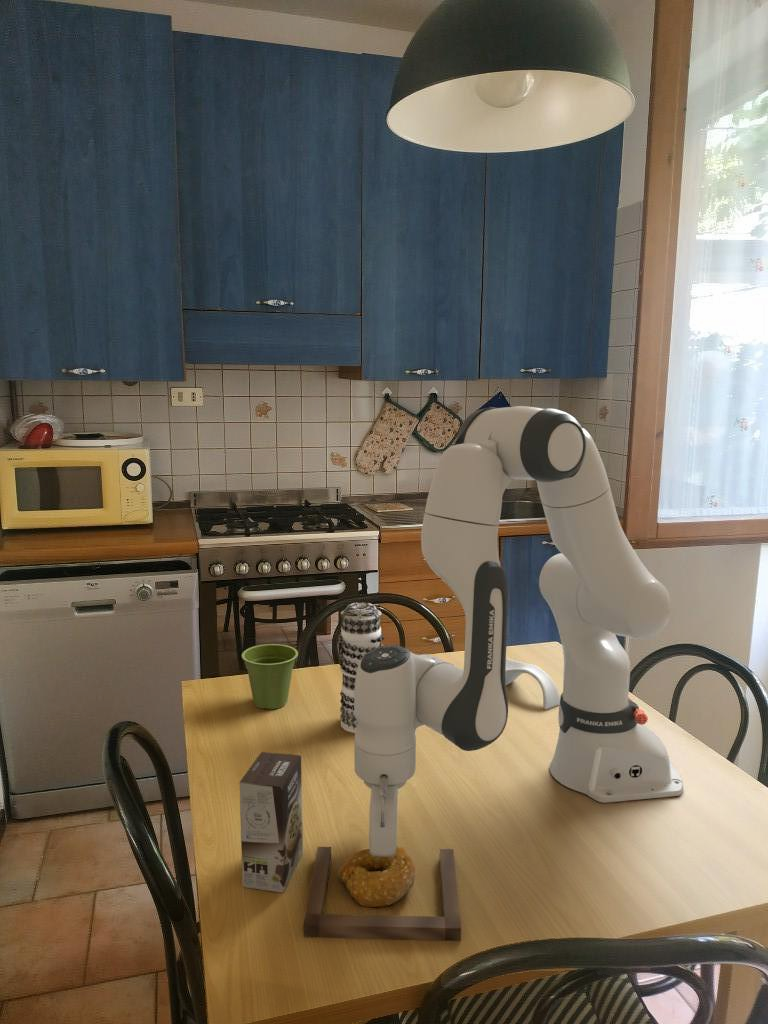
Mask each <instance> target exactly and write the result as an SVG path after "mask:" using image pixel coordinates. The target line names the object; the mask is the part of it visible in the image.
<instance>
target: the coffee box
mask: <svg viewBox="0 0 768 1024" xmlns="http://www.w3.org/2000/svg"><path fill="white" fill-rule="evenodd" d="M302 779H303V778H302V755H301V754H300V755H299V754H294V753H293V754H292V753H282V752H281V753H280V752H278V753H277V752H276V753H275V752H264V751H261V752H260V753H259V755H258V756H257V757H256V758H255V760H254V762H253V763H252V764H251V766H249V769H248V770H247V771H246V772H245V774H244V775H243V777H242V778H241V780H240V781H238V782H239V805H240V806H239V807H240V810H239V811H240V842H241V844H240V845H241V872H242V873H241V874H242V875H241V879H242V881H241V882H242V887H243V888H248V889H256V890H260V891H261V890H262V891H269V892H274V893H279V894H280V893H281V894H282V893H285V891H286V888H287V887H288V885H289V883H290V881H291V878H292V877H293V874H294V873H295V871H296V869H297V866H298V864H299V862H300V861H301V858H302V857H303V854H304V838H303V836H304V835H303V833H304V832H303V831H304V830H303V790H302V788H303V786H302V781H303V780H302Z"/></svg>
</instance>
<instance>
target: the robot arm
mask: <svg viewBox="0 0 768 1024" xmlns="http://www.w3.org/2000/svg"><path fill="white" fill-rule="evenodd" d="M512 480H513V481H517V480H521V481H522V480H523V481H536V484H537V489H538V494H539V499H540V501H541V502H540V503H541V505H542V508H543V509H542V510H543V512H544V513H543V514H544V516H545V519H546V523H547V526H548V530H549V534H550V538H551V540H552V542H553V544H554V546H555V548H556V549H557V550H558V551H559V552H560V553H557V554H555V555H553V556H551V557H550V558H549V559H548V560H547V561H546V562H545V563H544V565H543V567H542V568H541V571H540V574H539V578H538V586H539V587H538V588H539V591H540V594H541V596H542V597H543V598H544V600H545V601H546V602H547V604H548V606H549V608H550V610H551V612H552V614H553V616H554V620H555V622H556V626H557V629H558V630H557V631H558V633H559V637H560V641H561V646H562V654H563V681H562V683H563V684H562V692H561V694H560V695H559V697H560V704H559V705H558V716H557V717H558V718H557V719H558V727H559V732H558V738H557V743H556V745H555V746H556V747H555V750H554V753H553V757H552V759H551V762H550V764H549V772H550V774H551V776H552V777H553V778H554V779H555V780H556V781H557V782H558V783H559V784H561V785H563V786H564V787H567V788H569V789H571V790H573V791H576V792H579V793H581V794H584V795H587V796H588V797H590V798H591V799H593V800H595V801H596V802H599V803H603V804H605V803H606V804H607V803H616V802H627V801H635V800H636V801H637V800H646V799H658V798H668V797H669V798H670V797H676V796H677V797H678V796H681V795H682V794H683V791H684V782H683V778H682V774H680V771H679V770H678V769H677V767H676V766H675V765H674V763H673V762H672V761H671V760H670V758H669V757H670V756H669V754H668V750H667V748H666V746H665V744H664V742H663V741H662V739H660V737H659V736H658V735H657V734H656V733H655V732H654V731H653V730H651V729H650V728H649V727H647V726H646V725H645V724H646V723H648V720H649V718H648V716H647V714H646V713H645V711H644V710H643V709H640V708H639V705H638V704H637V703H636V702H634V701H633V699H631V697H630V696H629V695H630V694H629V691H630V677H631V661H630V658H629V656H628V654H627V651H626V650H625V649H624V647H623V646H622V645H621V643H620V641H619V640H618V638H617V636H620V637H626V638H629V639H630V638H632V639H637V640H647V639H652V638H653V637H655V636H657V634H659V633H661V631H662V630H663V629H664V628H665V627H666V625H667V623H668V621H669V618H670V616H671V612H672V601H671V596H670V593H669V591H668V589H667V588H666V587H665V585H663V583H661V582H660V581H659V580H657V578H656V577H655V576H653V575H652V573H651V572H650V571H649V570H648V569H647V567H646V566H645V565H644V564H643V562H642V560H641V559H640V558H639V556H638V554H637V553H636V551H635V550H634V548H633V546H632V544H630V541H629V540H628V537H627V535H626V534H625V532H624V530H623V528H622V525H621V522H620V519H619V516H618V513H617V510H616V504H615V500H614V498H613V494H612V489H611V486H610V481H609V478H608V474H607V471H606V469H605V465H604V462H603V459H602V458H601V454H600V452H599V450H598V448H597V446H596V443H595V441H594V439H593V436H592V435H591V434H590V433H589V432H588V430H586V429H585V428H583V427H582V425H581V423H579V421H578V420H577V419H576V418H575V417H574V416H572V415H571V414H570V413H567V412H565V411H564V410H563V411H562V410H559V409H557V408H549V407H548V408H540V407H535V406H528V405H527V406H525V405H516V406H508V407H507V406H506V407H493V406H492V407H485V408H482V409H478V410H476V411H474V412H472V413H470V414H469V415H468V416H467V417H466V418H465V420H464V421H463V422H462V424H461V425H460V427H459V429H458V432H457V435H456V439H455V441H454V444H453V445H452V446H450V447H448V448H447V449H445V451H443V453H442V454H441V456H440V457H439V460H438V463H437V465H436V468H435V471H434V474H433V477H432V481H431V483H430V487H429V491H428V495H427V499H426V503H425V509H424V513H423V521H422V525H421V533H420V544H421V547H420V548H421V553H422V556H423V558H424V559H425V562H426V564H427V565H428V566H429V568H430V569H431V570H432V572H434V574H435V575H436V576H437V577H438V578H440V579H441V580H442V581H443V582H444V583H445V584H446V585H447V586H448V587H449V588H450V590H451V591H452V592H453V593H454V595H455V596H456V598H457V599H458V601H459V603H460V604H461V606H462V609H463V612H464V615H465V616H464V617H465V633H464V634H465V636H464V653H463V654H464V658H463V660H464V661H463V668H460V667H458V666H456V665H454V664H452V663H451V662H448V661H446V660H444V659H442V658H439V657H438V656H434V655H430V654H427V653H426V654H425V653H421V654H415V653H414V652H411V651H410V650H409V649H408V648H405V647H403V646H401V645H396V644H394V645H393V644H392V645H391V644H388V645H383V646H381V647H377V648H375V649H373V650H371V651H369V652H367V653H366V654H365V655H364V656H363V657H362V658H361V660H360V663H359V665H358V669H357V673H356V679H355V690H354V714H355V718H356V721H357V730H356V733H354V737H353V738H354V739H353V740H354V743H353V744H354V745H353V746H354V748H353V749H354V772H355V776H357V777H358V778H359V779H360V780H362V781H363V784H364V785H365V786H366V787H368V789H370V797H369V798H370V799H369V800H370V801H369V816H368V817H369V820H368V821H369V822H368V823H369V824H368V825H369V828H368V849H369V851H370V854H371V855H372V856H375V857H393V856H395V854H396V845H397V841H398V840H397V838H398V836H397V835H398V834H397V833H398V808H399V807H398V803H399V802H398V801H399V800H398V799H399V789H401V788H403V787H404V786H405V785H406V784H407V781H409V780H410V779H412V778H413V776H414V775H415V773H416V761H417V760H416V759H417V758H416V755H417V754H416V749H417V746H416V745H417V741H416V740H417V738H416V730H417V728H419V727H421V726H426V727H428V728H429V729H431V730H432V731H435V732H437V733H438V734H440V735H442V736H443V737H445V739H446V740H448V741H449V742H451V743H452V744H453V745H455V746H456V747H458V748H459V749H460V750H462V751H466V752H474V751H477V750H481V749H483V748H486V747H487V746H489V745H491V744H492V743H495V741H497V740H498V739H499V738H500V736H501V735H502V734H503V732H504V731H505V729H506V725H507V723H508V716H509V701H508V694H507V685H506V684H505V667H506V659H507V639H508V616H509V615H508V614H509V586H508V579H507V576H506V573H505V571H504V570H503V568H502V566H501V562H500V556H499V548H498V539H499V538H498V536H499V535H498V533H499V526H500V520H501V515H502V514H501V513H502V507H503V505H502V504H503V496H504V494H505V491H506V489H507V487H508V485H510V483H511V482H512ZM397 846H398V845H397Z"/></svg>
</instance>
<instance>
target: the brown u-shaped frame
mask: <svg viewBox="0 0 768 1024" xmlns="http://www.w3.org/2000/svg"><path fill="white" fill-rule="evenodd" d="M331 862H332V846H317V849H316V854H315V861H314V865H313V871H312V876H311V881H310V887H309V892H308V897H307V903H306V908H305V914H304V920H303V926H302V927H303V938H318V939H319V938H324V939H325V938H327V939H328V938H329V939H330V938H331V939H365V940H366V939H367V940H369V939H370V940H374V939H375V940H404V941H405V940H406V941H407V940H411V941H412V940H415V941H419V940H420V941H448V940H461V941H462V924H461V913H460V903H459V894H458V884H457V883H458V881H457V874H456V872H457V871H456V864H455V863H456V862H455V851H454V849H453V848H452V849H451V848H439V869H440V872H439V873H440V884H441V885H440V886H441V901H442V916H430V915H429V916H427V915H426V916H425V915H389V914H388V915H384V914H383V915H382V914H381V915H379V914H378V915H377V914H345V913H343V914H337V913H324V909H325V902H326V896H327V888H328V883H329V878H330V877H329V876H330V875H329V874H330V871H331Z"/></svg>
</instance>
